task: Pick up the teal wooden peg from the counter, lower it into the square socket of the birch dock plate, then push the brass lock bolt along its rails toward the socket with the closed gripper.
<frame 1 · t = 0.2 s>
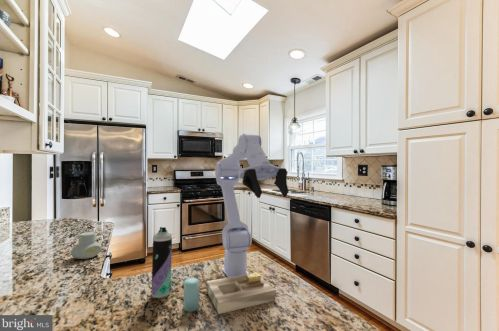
hand: (273, 194, 60), 31 cm above the countertop, tool tilted 45°, fingers open, 7 cm apart
air freshener: (86, 257, 100), on the countertop
dock plate: (239, 295, 70), on the countertop
spray can: (161, 294, 71), on the countertop
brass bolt: (253, 279, 71), point 4 cm above the countertop, slide at 0.0 cm
teal peg: (191, 307, 64), on the countertop
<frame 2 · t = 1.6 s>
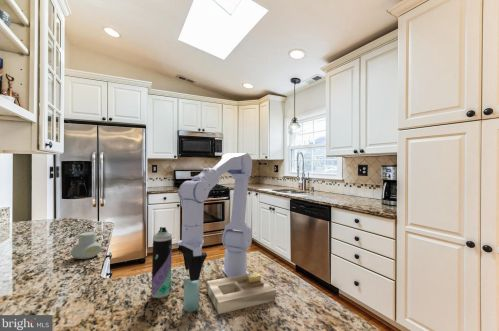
hand: (191, 274, 64), 9 cm above the countertop, tool pointing down, fingers open, 7 cm apart
nothing on the countertop moved.
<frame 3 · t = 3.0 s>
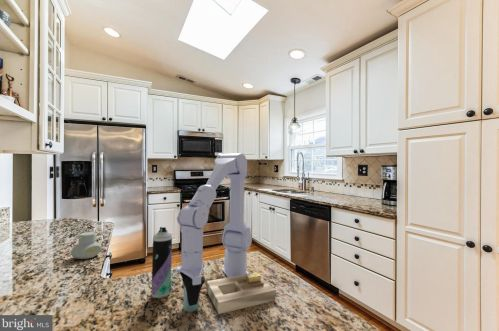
hand: (191, 300, 64), 2 cm above the countertop, tool pointing down, fingers closed on teal peg, 4 cm apart
teal peg: (191, 307, 63), on the countertop, touching gripper
everything else where it was.
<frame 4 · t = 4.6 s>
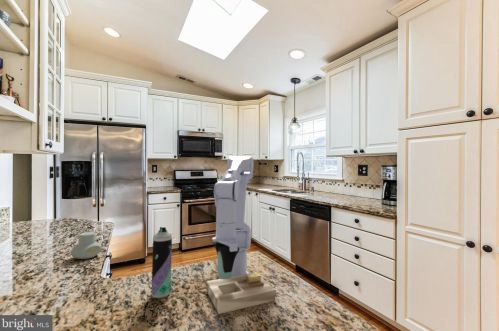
hand: (225, 268, 68), 9 cm above the countertop, tool pointing down, fingers closed on teal peg, 4 cm apart
teal peg: (224, 276, 68), point 7 cm above the countertop, touching gripper
everything else where it was.
when the fingers open (4 cm above the countertop, at t = 6.1 s): teal peg drops 2 cm, resting in dock plate.
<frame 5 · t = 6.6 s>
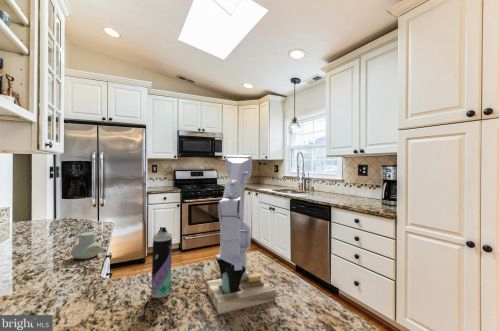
hand: (229, 285, 68), 4 cm above the countertop, tool pointing down, fingers open, 7 cm apart
teal peg: (228, 298, 68), resting in dock plate
everything else where it was.
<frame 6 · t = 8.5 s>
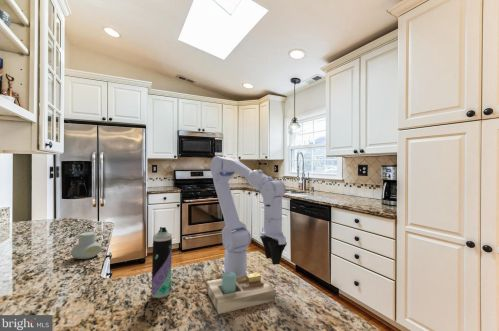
hand: (272, 260, 74), 9 cm above the countertop, tool pointing down, fingers open, 5 cm apart
nothing on the countertop moved.
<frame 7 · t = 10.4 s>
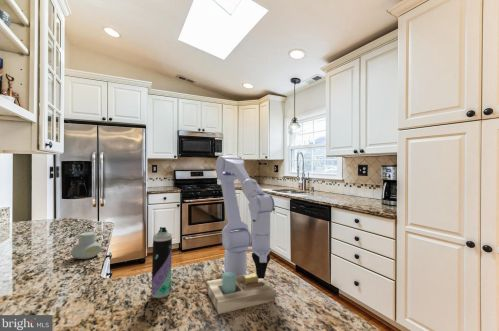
hand: (260, 277, 72), 4 cm above the countertop, tool pointing down, fingers closed
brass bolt: (250, 279, 71), point 4 cm above the countertop, slide at 1.0 cm, touching gripper
everything else where it was.
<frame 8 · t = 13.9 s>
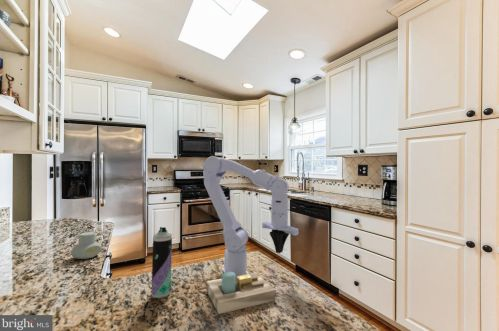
hand: (279, 252, 81), 9 cm above the countertop, tool pointing down, fingers closed
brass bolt: (244, 281, 70), point 4 cm above the countertop, slide at 3.0 cm
everything else where it was.
at the end: teal peg 0.1 cm from the target spot, resting in dock plate; teal peg tilted 1°; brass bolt slide at 3.0 cm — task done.
